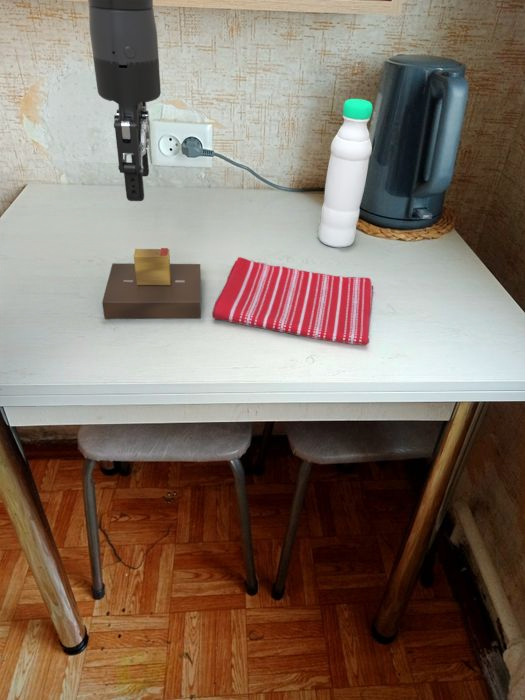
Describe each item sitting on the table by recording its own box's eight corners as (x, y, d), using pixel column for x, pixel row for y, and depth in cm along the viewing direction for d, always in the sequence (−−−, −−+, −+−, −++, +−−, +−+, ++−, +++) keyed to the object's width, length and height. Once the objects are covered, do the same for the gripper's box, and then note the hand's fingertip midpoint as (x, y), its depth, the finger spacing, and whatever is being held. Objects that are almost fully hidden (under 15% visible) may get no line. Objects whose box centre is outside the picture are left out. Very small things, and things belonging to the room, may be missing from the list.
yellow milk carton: (136, 285, 77) (133, 254, 74) (138, 277, 79) (135, 247, 75) (170, 285, 77) (168, 254, 74) (171, 277, 79) (169, 247, 76)
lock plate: (104, 319, 75) (101, 301, 73) (114, 279, 83) (112, 262, 81) (200, 318, 76) (200, 301, 74) (200, 279, 85) (200, 262, 83)
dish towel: (237, 266, 89) (237, 253, 87) (373, 289, 86) (376, 275, 84) (208, 322, 76) (208, 308, 74) (367, 351, 73) (370, 336, 71)
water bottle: (312, 243, 97) (332, 102, 81) (323, 228, 102) (343, 93, 86) (348, 252, 95) (375, 109, 79) (357, 236, 100) (384, 100, 84)
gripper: (101, 40, 65) (117, 167, 75) (82, 63, 54) (103, 208, 64) (161, 43, 65) (168, 169, 76) (154, 67, 55) (163, 209, 65)
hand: (138, 187), depth 70 cm, fingers open, 8 cm apart
